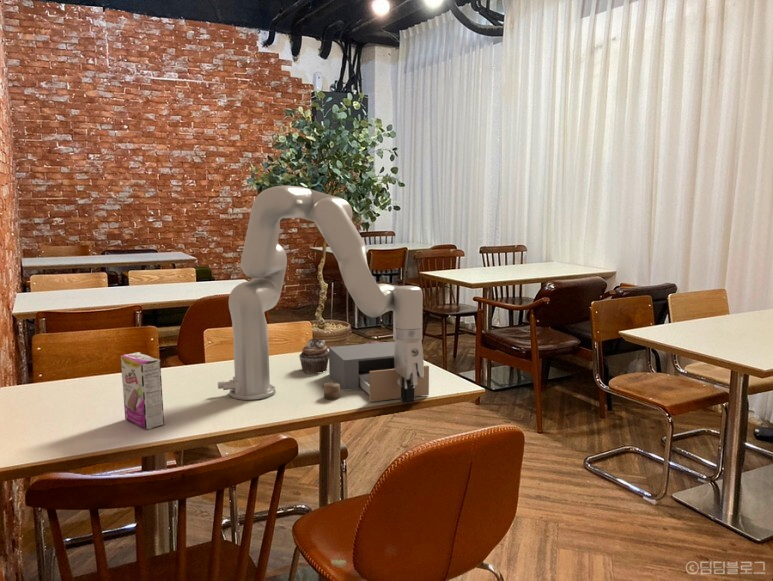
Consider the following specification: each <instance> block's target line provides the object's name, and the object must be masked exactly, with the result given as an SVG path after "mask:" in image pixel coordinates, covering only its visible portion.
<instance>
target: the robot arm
mask: <svg viewBox="0 0 773 581" xmlns="http://www.w3.org/2000/svg"><path fill="white" fill-rule="evenodd" d="M297 218H298V219H301V220H302V219H303V220H307V221H310V222H313V223H314V224H315V226H316V227H317V229H318V230H319V232H320V234H321V236H322V237H323V239H324V240H325V242H326V244H327V245H328V247H329V248H330V250H331V252H332V254H333V255H334V258H335V259H336V261H337V263H338V268H339V271H340V272H339V273H340V275H341V278H342V280H343V283H344V286H345V287H346V289H347V292H348V293H349V295H350V296H351V298H352V299H353V302H354V303H355V305H356V306H357V307H358V309H359V311H360V312H361V313H363V315H366V316H367V317H370V318H378V317H380V316H382V315H383V314H385V313H388V312H390V311H392V312H393V324H392V326H393V328H392V329H393V330H392V332H393V335H392V336H393V338H392V339H393V340H394V342H395V352H394V367H395V371H396V372H397V373H398V374H399V376H400V385H401V398H400V401H401V402H402V403H403V404H409V403H410V404H411V403H415V397H414V388H415V385H417V384H418V382H417V376H418V377H419V378H423V377H424V366H425V364H424V362H425V361H424V350H423V343H422V340H423V303H424V302H423V298H424V296H423V290H422V288H421V287H419V286H415V285H395V284H393V285H392V284H388V283H377V282H376V279H375V278H374V276H373V274H372V272H371V271H370V268H369V265H368V260H367V245H366V242H365V240H364V239H363V238H362V236H361V235H360V233H359V230H357V228H356V226H355V224H354V223H353V221H352V220H353V209H352V206H351V204H350V203H349V202H348V201H347V200H345V199H343V197H340V196H339V197H338V196H335V195H330V194H328V193H324V192H321V191H317V190H314V189H310V188H307V187H303V186H296V185H294V186H293V185H276V186H272V187H269V188H266V189H264V190H263V191H260V193H259V194H257V196H256V197H255V198H254V200H253V201H252V206H251V207H250V215H249V219H248V226H247V230H246V233H245V238H244V244H243V249H242V253H241V259H240V268H241V271H242V272H243V273H244V275H245V276H247V277H248V278H251V279H250V280H248V281H247V280H246V281H243V282H241V283H239V284H237V285H236V286H234V288H232V290H231V291H230V293H229V295H228V296H229V297H228V310H229V313H230V318H231V323H232V324H231V326H232V340H233V365H234V376H232V379H229V380H227V381H218V382H217V389H218V390H222V389H223V391H228V390H229V396H230V397H231V398H233V399H236V400H243V401H244V400H245V401H252V400H253V401H255V400H261V399H266V398H269V397H271V396H273V395H274V394H275V393H276V387H275V385H273V384H271V382H270V381H271V380H270V353H269V352H270V349H269V348H270V347H269V343H270V342H269V328H268V327H269V326H268V323H267V319H266V316H265V312H267V311H269V310H271V309H273V308H274V307H275V306H277V304H278V302H279V300H280V297H281V294H282V289H283V285H284V280H285V275H286V272H287V271H286V270H287V264H288V256H287V252H286V250H285V249H284V248H283V246H281V244H280V243H278V241H279V239H280V238H279V237H280V232H281V226H280V224H281V220H283V219H297ZM402 386H403V387H402Z"/></svg>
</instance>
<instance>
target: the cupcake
mask: <svg viewBox="0 0 773 581" xmlns="http://www.w3.org/2000/svg"><path fill="white" fill-rule="evenodd" d="M301 351H302V352H301V353H300V354H299V355H298V356H299V361H300V365H301V370H303V371H304V372H303V371H302V372H303V373H305V372H309V373H308V374H319V373H318V372H322V373H324V372H323V371H325V370H326V371H328V366H329V365H328V364H329V347H328V345H326V341H325V339H324V338H312V337H311V338H310V339H308V340H307V343H306V344H305V345H304V346H303V348H302V349H301ZM326 371H325V372H326Z"/></svg>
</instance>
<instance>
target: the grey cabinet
mask: <svg viewBox="0 0 773 581" xmlns="http://www.w3.org/2000/svg"><path fill="white" fill-rule="evenodd" d="M328 352H329V360H328V364H329V365H328V367H329V368H328V371H329V372H328V373H329V376H330V377H331V378H332V379H333V380H334V381H335V383H338V384H340V388H341V389H343V390H344V391H349V390H359V389H360V390H361V389H363V388H362V387H361V386H360V385H359V375H361V374H369V371H377V370H387V369H395V367H394V352H395V341H386V342H382V343H372V344H365V343H363V344H361V343H360V344H351V345H340V346H339V345H338V346H337V345H336V346H329V347H328Z"/></svg>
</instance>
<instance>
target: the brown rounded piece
mask: <svg viewBox="0 0 773 581" xmlns="http://www.w3.org/2000/svg"><path fill="white" fill-rule="evenodd" d="M324 398H325V400H328V401H329V400H330V401H336V400H338V399H340V398H341V386H340V384H338V383H337V382H327V383H324V384H323V399H324Z"/></svg>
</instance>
